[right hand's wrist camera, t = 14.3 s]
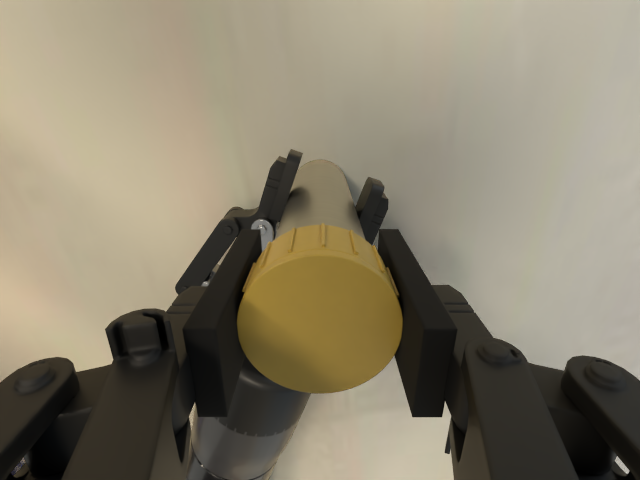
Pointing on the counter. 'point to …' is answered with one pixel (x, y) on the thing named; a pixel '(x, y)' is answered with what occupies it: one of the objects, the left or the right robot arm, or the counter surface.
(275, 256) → the lid
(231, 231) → the left robot arm
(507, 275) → the counter surface
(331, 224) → the jar
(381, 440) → the counter surface
